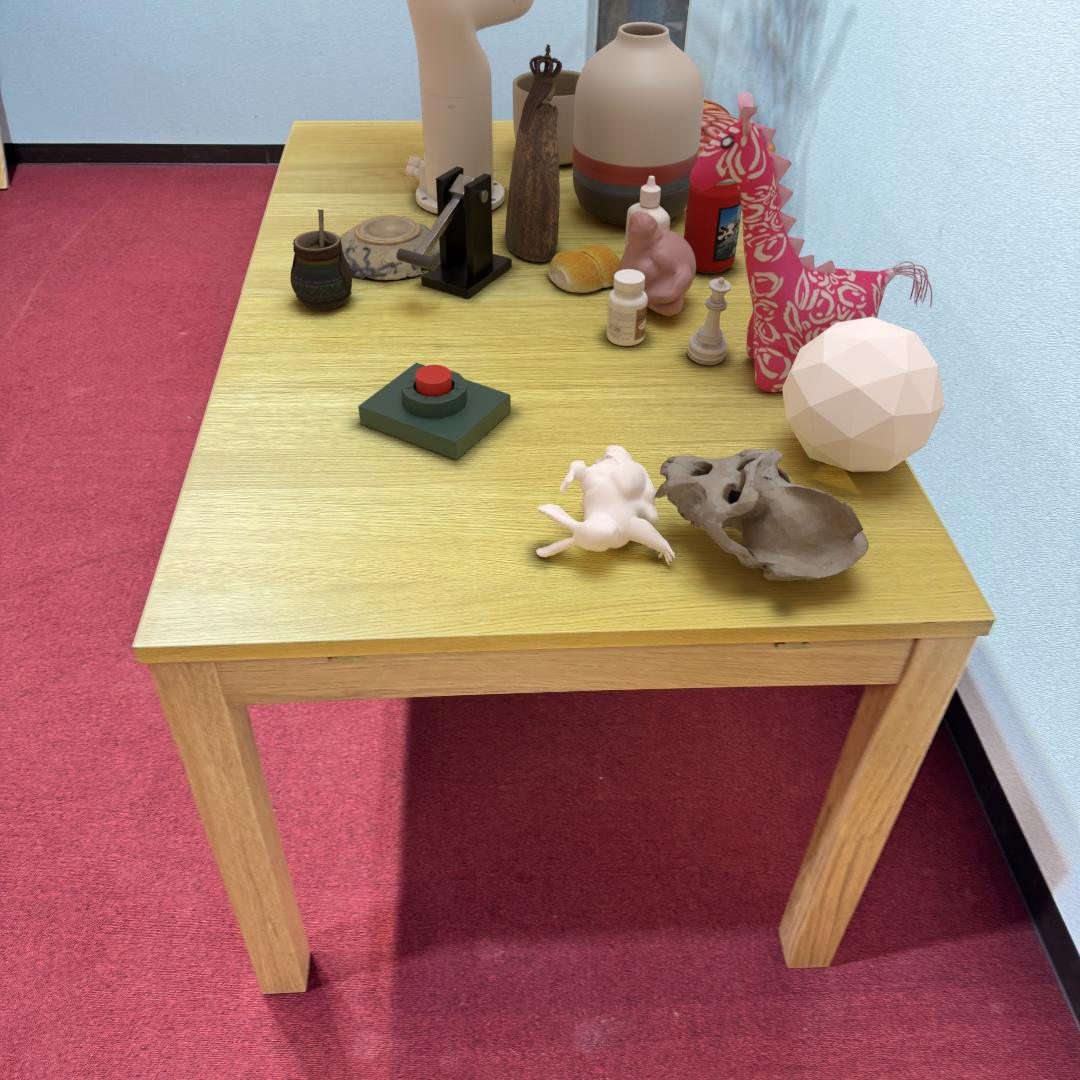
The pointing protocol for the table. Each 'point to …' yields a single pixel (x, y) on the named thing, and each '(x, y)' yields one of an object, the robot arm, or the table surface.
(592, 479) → the rabbit figurine
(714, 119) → the anatomical model
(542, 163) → the statue
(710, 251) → the beverage can
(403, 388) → the block
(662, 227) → the eye dropper bottle
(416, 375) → the button
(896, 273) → the toy
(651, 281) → the figurine
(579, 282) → the bread roll
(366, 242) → the decorative bowl
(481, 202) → the lever bracket
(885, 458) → the geometric shape
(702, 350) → the chess piece
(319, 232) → the mate gourd
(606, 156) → the vase
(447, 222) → the lever
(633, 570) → the table surface
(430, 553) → the table surface
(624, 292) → the pill bottle
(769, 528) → the skull
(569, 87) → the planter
